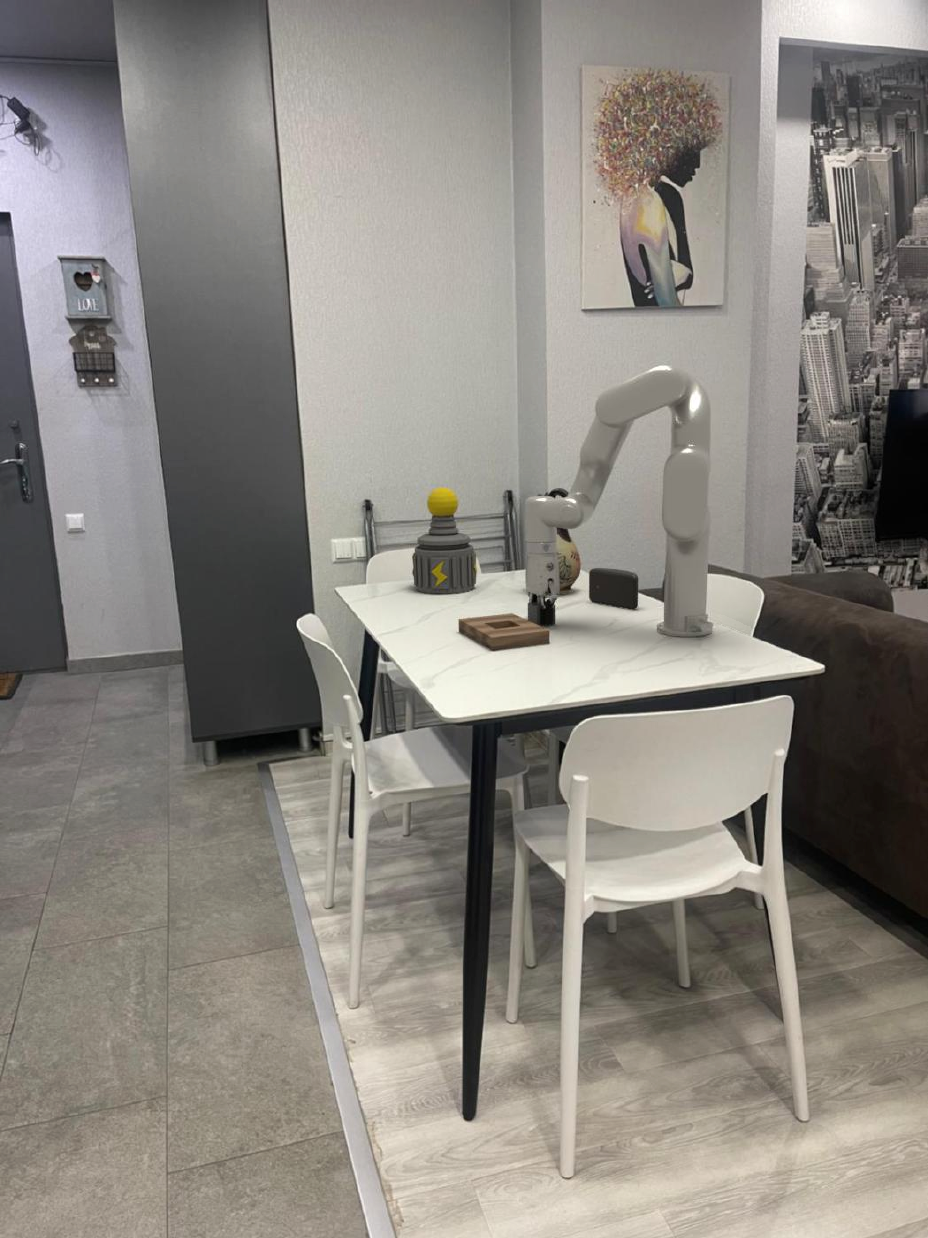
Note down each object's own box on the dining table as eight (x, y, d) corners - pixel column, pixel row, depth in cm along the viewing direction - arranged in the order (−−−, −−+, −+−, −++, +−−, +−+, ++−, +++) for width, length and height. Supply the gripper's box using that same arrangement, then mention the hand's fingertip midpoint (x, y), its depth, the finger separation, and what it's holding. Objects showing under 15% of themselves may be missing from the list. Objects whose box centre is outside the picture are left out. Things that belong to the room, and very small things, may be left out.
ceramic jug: (515, 593, 256) (514, 488, 249) (548, 585, 267) (548, 484, 260) (563, 600, 245) (563, 490, 238) (595, 591, 256) (596, 486, 249)
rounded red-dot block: (646, 608, 233) (646, 572, 230) (634, 611, 230) (635, 575, 228) (598, 599, 245) (598, 565, 242) (587, 602, 242) (587, 568, 240)
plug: (555, 624, 217) (555, 596, 215) (536, 627, 215) (536, 598, 214) (546, 620, 221) (545, 593, 220) (527, 622, 220) (527, 595, 218)
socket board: (549, 643, 199) (549, 630, 199) (492, 650, 194) (491, 637, 194) (512, 625, 218) (512, 613, 217) (458, 631, 213) (458, 619, 212)
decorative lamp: (408, 595, 258) (404, 490, 251) (419, 582, 276) (416, 485, 269) (472, 595, 255) (470, 489, 249) (480, 582, 273) (478, 484, 267)
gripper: (571, 551, 208) (571, 627, 212) (539, 542, 223) (539, 613, 227) (543, 553, 205) (543, 630, 209) (512, 544, 221) (512, 616, 225)
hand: (541, 621), depth 218 cm, fingers closed on plug, 5 cm apart
